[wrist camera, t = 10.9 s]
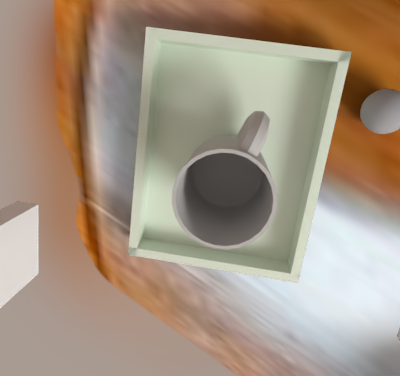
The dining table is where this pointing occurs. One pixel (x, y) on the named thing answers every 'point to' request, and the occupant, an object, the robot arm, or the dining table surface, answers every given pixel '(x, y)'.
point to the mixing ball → (381, 111)
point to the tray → (230, 125)
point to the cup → (227, 188)
